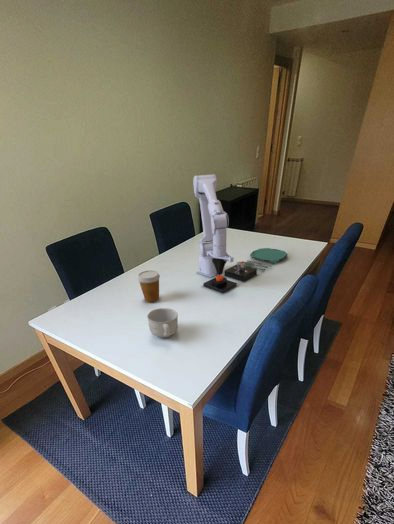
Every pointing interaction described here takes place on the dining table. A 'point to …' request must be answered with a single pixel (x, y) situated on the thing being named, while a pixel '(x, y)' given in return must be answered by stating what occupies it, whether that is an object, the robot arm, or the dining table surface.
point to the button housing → (219, 285)
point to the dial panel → (240, 273)
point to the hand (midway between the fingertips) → (219, 274)
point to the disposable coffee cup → (149, 285)
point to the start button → (219, 278)
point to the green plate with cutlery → (266, 257)
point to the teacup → (163, 322)
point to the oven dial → (241, 266)
